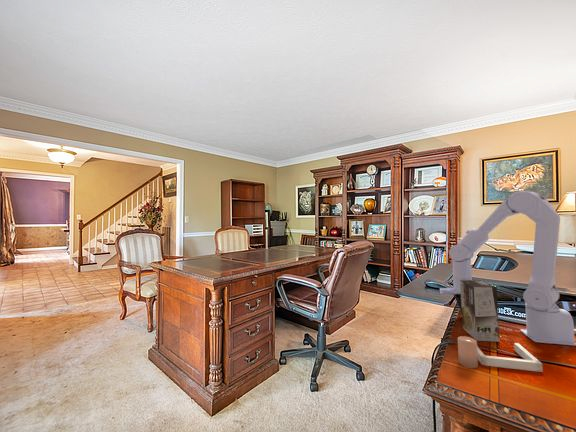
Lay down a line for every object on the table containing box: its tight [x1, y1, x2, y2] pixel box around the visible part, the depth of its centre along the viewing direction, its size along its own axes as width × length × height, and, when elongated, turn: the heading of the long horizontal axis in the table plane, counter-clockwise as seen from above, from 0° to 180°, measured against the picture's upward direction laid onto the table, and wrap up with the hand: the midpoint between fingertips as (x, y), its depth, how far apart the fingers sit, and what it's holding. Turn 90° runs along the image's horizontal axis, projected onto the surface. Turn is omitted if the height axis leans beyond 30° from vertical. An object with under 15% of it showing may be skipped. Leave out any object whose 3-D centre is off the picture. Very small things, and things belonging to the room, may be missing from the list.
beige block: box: [457, 335, 479, 369], centre depth 65 cm, size 4×4×6 cm
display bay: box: [477, 342, 543, 373], centre depth 67 cm, size 12×10×2 cm
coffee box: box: [460, 279, 500, 343], centre depth 80 cm, size 9×6×16 cm
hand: (464, 315), depth 93 cm, fingers closed
